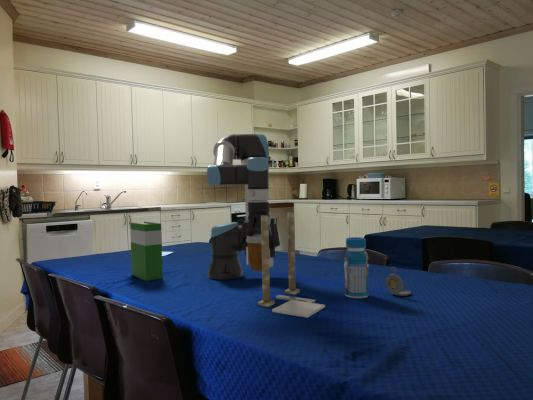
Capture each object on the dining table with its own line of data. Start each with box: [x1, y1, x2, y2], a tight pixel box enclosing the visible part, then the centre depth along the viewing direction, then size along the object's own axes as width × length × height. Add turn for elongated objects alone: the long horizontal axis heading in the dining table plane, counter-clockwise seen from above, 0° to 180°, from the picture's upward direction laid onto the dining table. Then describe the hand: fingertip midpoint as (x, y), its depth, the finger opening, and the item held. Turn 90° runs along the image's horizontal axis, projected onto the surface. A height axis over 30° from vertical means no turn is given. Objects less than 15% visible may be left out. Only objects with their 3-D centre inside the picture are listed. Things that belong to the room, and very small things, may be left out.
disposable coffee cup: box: [246, 234, 262, 272], centre depth 146 cm, size 10×10×12 cm
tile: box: [271, 300, 326, 318], centre depth 127 cm, size 12×12×1 cm
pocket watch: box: [385, 266, 412, 297], centre depth 143 cm, size 8×8×10 cm
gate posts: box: [257, 211, 301, 308], centre depth 141 cm, size 4×22×29 cm, turn 148°
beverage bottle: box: [343, 236, 370, 299], centre depth 142 cm, size 8×8×20 cm
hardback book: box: [129, 221, 164, 282], centre depth 184 cm, size 18×7×24 cm, turn 38°
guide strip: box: [275, 294, 317, 303], centre depth 137 cm, size 14×4×1 cm, turn 58°
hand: (259, 265), depth 146 cm, fingers closed on disposable coffee cup, 8 cm apart
